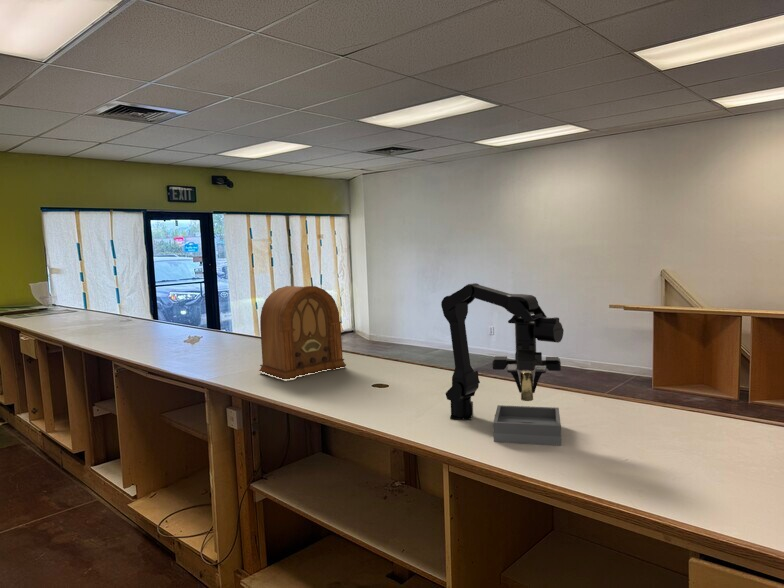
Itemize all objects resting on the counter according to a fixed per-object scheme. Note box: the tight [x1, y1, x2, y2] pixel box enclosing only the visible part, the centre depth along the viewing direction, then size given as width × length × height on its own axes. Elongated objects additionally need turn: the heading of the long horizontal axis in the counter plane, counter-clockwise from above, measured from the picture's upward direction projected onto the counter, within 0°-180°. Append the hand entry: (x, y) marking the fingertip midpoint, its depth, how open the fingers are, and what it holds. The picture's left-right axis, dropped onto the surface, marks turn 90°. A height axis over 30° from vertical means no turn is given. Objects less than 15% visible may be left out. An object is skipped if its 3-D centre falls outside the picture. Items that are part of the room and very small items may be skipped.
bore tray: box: [492, 404, 562, 446], centre depth 150 cm, size 18×16×6 cm
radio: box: [258, 285, 347, 379], centre depth 240 cm, size 33×23×40 cm
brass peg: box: [519, 370, 534, 402], centre depth 149 cm, size 3×3×8 cm
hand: (526, 392), depth 149 cm, fingers closed on brass peg, 3 cm apart
